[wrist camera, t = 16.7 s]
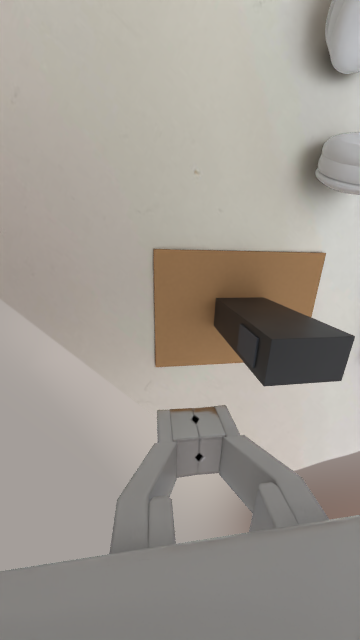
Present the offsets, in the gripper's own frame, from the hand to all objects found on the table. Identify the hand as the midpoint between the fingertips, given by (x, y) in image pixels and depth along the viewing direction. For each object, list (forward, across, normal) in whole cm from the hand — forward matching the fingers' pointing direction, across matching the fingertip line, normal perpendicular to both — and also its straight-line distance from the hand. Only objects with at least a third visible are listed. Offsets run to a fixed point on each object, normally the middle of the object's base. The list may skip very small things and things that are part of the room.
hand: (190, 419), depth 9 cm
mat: (+17, -9, 0) cm, 19 cm away
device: (+16, -9, 0) cm, 18 cm away
